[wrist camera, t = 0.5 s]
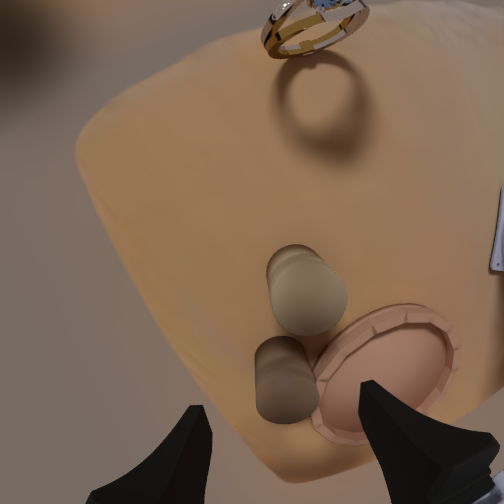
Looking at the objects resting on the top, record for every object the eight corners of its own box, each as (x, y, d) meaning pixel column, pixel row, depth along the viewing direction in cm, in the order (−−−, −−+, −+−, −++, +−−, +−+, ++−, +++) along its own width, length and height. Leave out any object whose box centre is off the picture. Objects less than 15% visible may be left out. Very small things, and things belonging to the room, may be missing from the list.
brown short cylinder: (310, 337, 21) (326, 380, 16) (300, 378, 22) (311, 424, 17) (257, 333, 21) (260, 377, 16) (251, 375, 22) (252, 422, 17)
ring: (335, 26, 16) (370, -33, 8) (355, 59, 17) (402, 7, 9) (250, 48, 17) (252, -19, 9) (269, 83, 17) (282, 24, 9)
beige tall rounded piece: (327, 247, 20) (354, 269, 14) (317, 301, 21) (338, 337, 15) (270, 241, 20) (278, 261, 14) (262, 296, 20) (267, 333, 15)
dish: (467, 304, 21) (479, 312, 19) (416, 422, 24) (423, 433, 22) (327, 298, 20) (334, 309, 19) (291, 435, 24) (294, 449, 22)
